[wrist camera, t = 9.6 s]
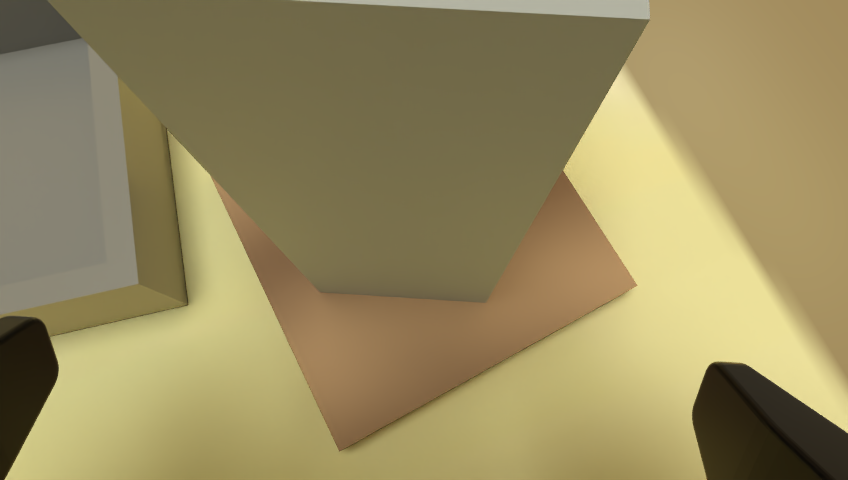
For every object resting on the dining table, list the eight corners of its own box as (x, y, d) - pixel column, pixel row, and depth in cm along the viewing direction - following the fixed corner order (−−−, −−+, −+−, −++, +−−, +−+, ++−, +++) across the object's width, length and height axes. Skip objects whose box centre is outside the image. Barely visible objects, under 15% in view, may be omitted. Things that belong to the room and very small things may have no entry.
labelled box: (490, 303, 16) (671, 14, 4) (320, 292, 16) (27, -20, 4) (495, 149, 17) (646, -406, 5) (337, 141, 17) (148, -424, 5)
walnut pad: (625, 292, 17) (637, 285, 16) (344, 448, 16) (339, 451, 15) (471, 52, 19) (474, 33, 18) (215, 174, 18) (203, 160, 17)
